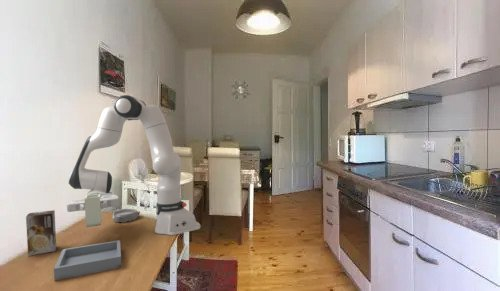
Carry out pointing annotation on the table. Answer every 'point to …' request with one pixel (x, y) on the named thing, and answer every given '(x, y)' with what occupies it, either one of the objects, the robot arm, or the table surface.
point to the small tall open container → (93, 210)
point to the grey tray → (88, 260)
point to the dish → (125, 215)
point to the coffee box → (41, 232)
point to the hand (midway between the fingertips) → (93, 207)
